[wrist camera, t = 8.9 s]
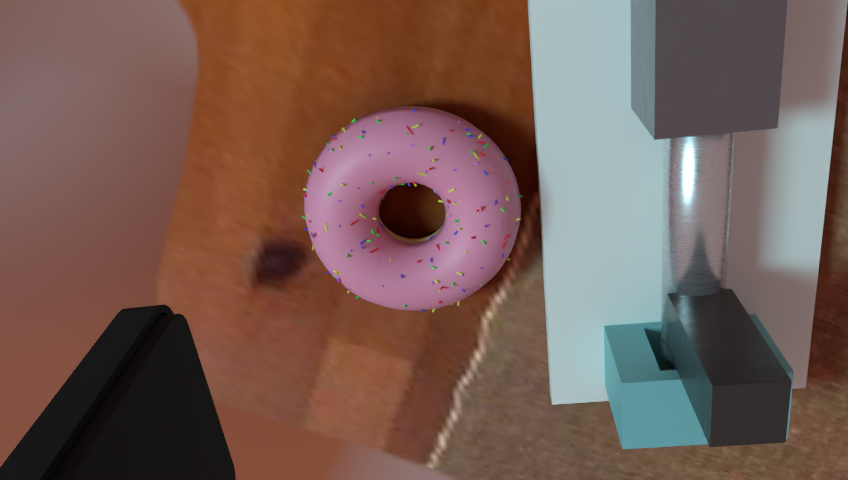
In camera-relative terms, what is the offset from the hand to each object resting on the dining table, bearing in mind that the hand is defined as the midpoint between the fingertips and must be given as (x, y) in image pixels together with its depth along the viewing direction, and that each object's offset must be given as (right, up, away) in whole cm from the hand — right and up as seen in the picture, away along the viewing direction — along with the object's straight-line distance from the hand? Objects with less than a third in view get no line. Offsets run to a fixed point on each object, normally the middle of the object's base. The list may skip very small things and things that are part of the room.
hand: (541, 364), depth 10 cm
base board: (+11, +7, +29) cm, 32 cm away
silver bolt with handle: (+11, +3, +28) cm, 30 cm away
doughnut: (-2, +4, +31) cm, 31 cm away
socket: (+12, -4, +33) cm, 35 cm away
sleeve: (+10, +12, +25) cm, 30 cm away
